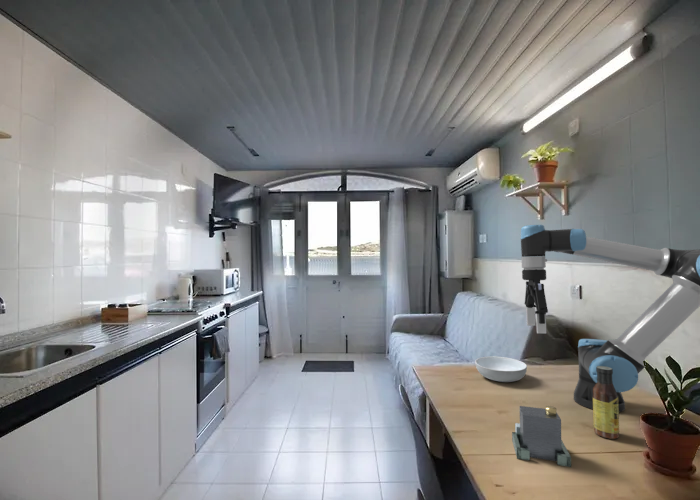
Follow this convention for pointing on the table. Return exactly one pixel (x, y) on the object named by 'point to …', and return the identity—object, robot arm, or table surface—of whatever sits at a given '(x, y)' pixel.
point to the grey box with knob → (540, 432)
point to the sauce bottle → (605, 405)
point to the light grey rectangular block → (517, 427)
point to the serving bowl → (501, 368)
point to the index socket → (524, 453)
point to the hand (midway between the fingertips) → (536, 329)
